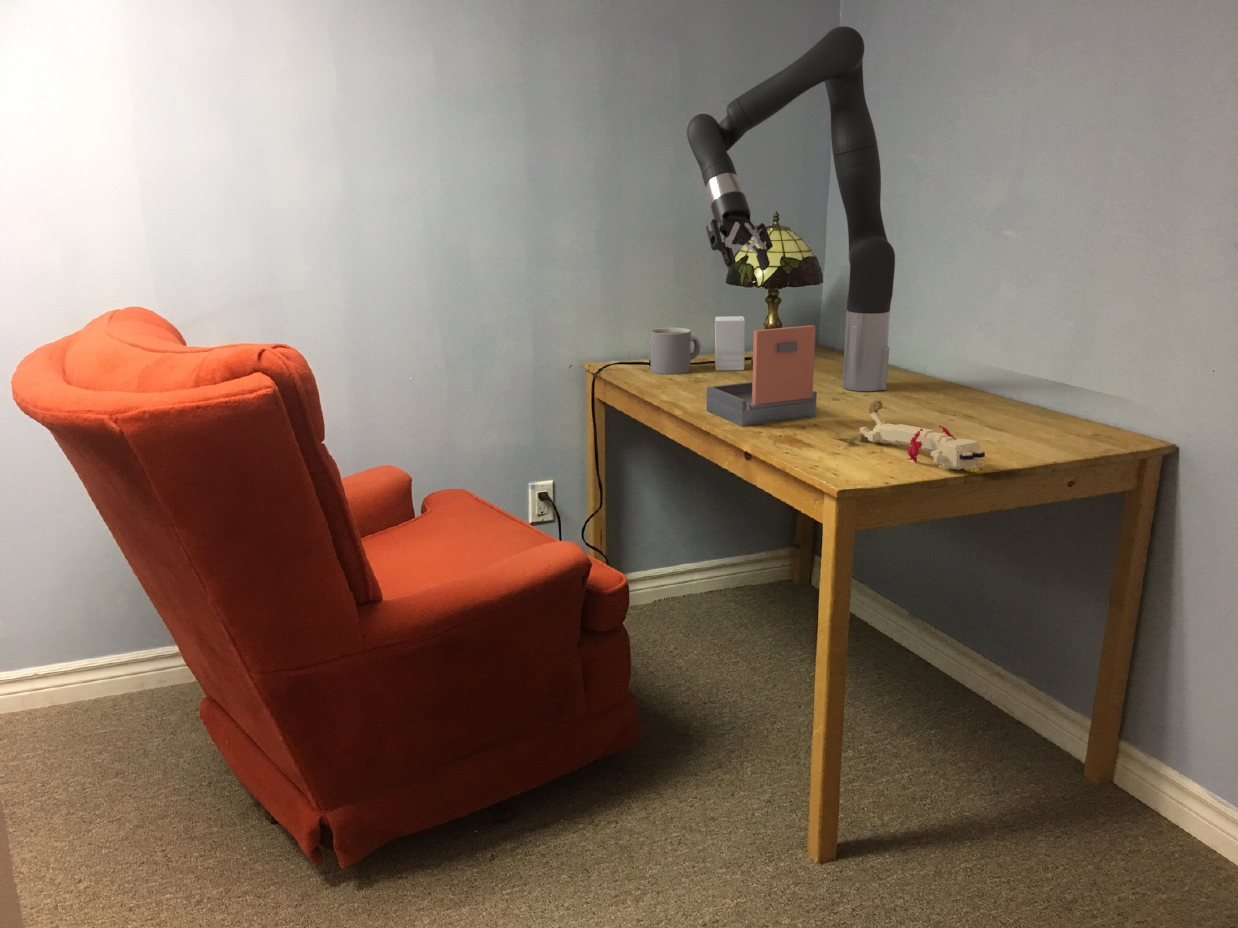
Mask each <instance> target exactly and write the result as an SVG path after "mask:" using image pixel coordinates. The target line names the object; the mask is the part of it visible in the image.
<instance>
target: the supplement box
mask: <svg viewBox="0 0 1238 928" xmlns="http://www.w3.org/2000/svg"><path fill="white" fill-rule="evenodd" d="M745 338H746V319H745V317H744V315H738V316H736V315H735V316H734V315H733V316H730V315H729V316H715V320H714V368H715V371H745V349H746V346H745V345H746V344H745V343H746V339H745Z"/></svg>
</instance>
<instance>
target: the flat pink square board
mask: <svg viewBox="0 0 1238 928" xmlns="http://www.w3.org/2000/svg"><path fill="white" fill-rule="evenodd" d="M816 331H817V330H816V325H813V324H812V325H801V326H791V327H790V326H789V327H778V328H767V329H755V330H753V347H752V349H753V350H752V381H751V382H752V404H750V410H756V409H764V408H772V407H780V406H788V405H795V404H803V403H811V402H814V397H813V396H812V395H813V391H814V370H815V369H814V368H815V350H816V349H815V347H816Z"/></svg>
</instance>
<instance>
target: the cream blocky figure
mask: <svg viewBox="0 0 1238 928" xmlns="http://www.w3.org/2000/svg"><path fill="white" fill-rule="evenodd" d="M882 408H883V402H882V400H879V399H877V400H873V401H872V403H871V404H870V405H869V408H868V413H869V415H870V416H871V418H872V420H874V422H875V426H874V428H873V429H872V430H870V429H868V427H866V426H862V427H859V434H857V435H856V436H857V438H856V439H857V441H859V442H861V443H867V442H868V441H869V442H872V443H881V444H883V445H884V444H893V445H897V446H898V445H906V446H908V449H907V455H908V457H909V459H910V460H912V461H913V462H914V463H919V462H920V461H918V456H919V448H920V449H921V450H922V451H924V452H925V451H926V452H929V453H930V457H933V462H934V463H936V464H940V465H938V468H943V469H950V470H952V469H954V470H962V469H963V470H964V471H967V472H971V473H972V472H973V473H974V472H976V473H977V472H979V471H980V468H982V466H983V467H984V466H986V463H983V462H981V461H980V459H981V458H985V457H986V452H985V451H984V450H983V449H981V445H980V444H979V442H978V441H977V440H973V439H972V440H971V439H968V438H955V437H954V435H952V434H951V432H950V431H949V429H948V428H947V427H945V426H942V425H938V428H939V429H942V433H941V432H935V431H934V429H929V428H924V427H918V426H913V425H909V424H908V425H907V424H902V423H898V424H894V423H893V424H892V423H886V422H885V421H884V419H883V417H882V415H881V414H880V413H879V410H882Z"/></svg>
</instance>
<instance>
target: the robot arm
mask: <svg viewBox="0 0 1238 928" xmlns="http://www.w3.org/2000/svg"><path fill="white" fill-rule="evenodd" d="M864 55H865V42H864V38H863V36H862V35H861V33H860V32H858V31H857V30H856V29H855V28H854V27H851V26H846V25H845V26H844V25H842V26H837V27H834V28H832V29H830V30H829V31H828V32H827V33H826V34H824V36H823V37H822V38H821V39H820V40H819V41H818V42H817V43H815V44H814V45H813V46H812V47H811V48H810V49H809V50H807V51H806V52H804V54H803V55H801V56H800V57H799V58H797V59H796V60H794V61H793V62H792V63H790V64H789V65H787V67H784V68H783V69H782V70H780V71H779V72H777V73H775V74H773V75H772V76H770V77H768V78H767V79H765V80H763V81H762V82H759V83H758V84H757V85H755V86H753V87H752V88H750V89H748V90H747V91H745V92H744V93H742V94H741V95H739V96H737V97H736V98H734V99H733V100H731V101H730V102H729V103H728V104H727V106H726V116H725V117H724V118H723V119H722V120H721V121H720V122H719V121H718V120H717V119H716V118H715V117H714V116H712V115H710V114H708V113H699V114H696V115H695V116H693V117H692V118H691V119H690V121H689V122H688V125H687V128H686V137H687V141H688V144H689V147H690V149H691V151H692V153H693V156H694V158H695V160H696V163H697V164H698V167H699V170H700V173H701V178H702V180H703V183H704V186H705V191H706V196H707V199H708V203H709V206H710V210H711V213H712V216H713V218H712V219H711V221H709V223H708V224H707V225H706V226H705V228H706V232H707V233H706V234H707V237H708V241H709V245H710V249H711V250H712V251H718V252H719V254H721V255H722V260H723V262H724V264H725V266H726V268H727V269H728V270H729V269H733V268H734V267H735V266H736V264H737V261H736V257H735V255H734V252H733V249H732V247H731V245H739V246H745V247H746V248H747V249H748V250H751V251H752V252H753V253H754V254H755V255H756V256H755V257H756V260H757V263H758V267H759V269H760V271H766V270H767V269H768V268H769V267H770V265H771V262H770V258H769V257H768V252H769V251H770V250H771V249H772V248H773V247H774V245H773V243H772V240H771V237H770V234H769V233H768V230H767V227H766V224H764V222H763V223H762V222H761V223H760V224H759V225H754V224H753V222H752V221H751V210H750V206H749V203H748V201H747V198H746V193H745V191H744V188H743V186H742V183H741V182H740V179H739V177H738V174H737V171H736V168H735V166H734V163H733V160H732V158H731V156H730V155H729V154H728V151H729V150H730V149H731V148H732V147H733V146H734V145H735V144H736V143H737V142H738V141H740V139H741V138H742V137H743V136H744V135H745V134H746V133H747V132H748V131H750V130H752V129H753V128H755V127H757V126H758V125H760V124H761V123H763V122H765V121H766V120H768V119H769V118H771V117H772V116H774V115H776V114H777V113H778V112H779V111H781V110H782V109H783V108H785V107H786V106H787V105H789V104H790V103H792V101H794V100H795V99H797V98H799V97H800V96H801V95H803V94H804V93H806V92H807V91H808V90H810V89H812V88H814V87H816V86H817V85H820V84H821V83H824V85H825V89H826V93H827V96H828V97H827V98H828V102H829V112H830V135H831V137H830V138H831V148H832V157H833V164H834V171H835V176H836V180H837V184H838V189H839V193H840V198H841V200H842V204H843V207H844V211H845V215H846V221H847V222H846V223H847V235H848V237H847V238H848V262H849V267H850V268H849V278H848V279H849V281H848V283H849V284H848V294H847V298H846V299H847V300H846V316H845V334H844V335H845V336H844V351H843V370H842V372H843V373H842V387H843V388H844V389H846V390H850V391H859V392H876V391H887V386H888V375H889V374H888V373H889V372H888V371H889V358H890V347H889V346H888V344H889V329H890V317H891V316H890V315H891V304H892V299H893V294H894V293H893V292H894V281H895V280H894V279H895V268H896V253H895V250H894V247H893V246H892V244H891V243H890V242H889V240H888V237H887V234H886V230H885V225H884V221H883V216H882V209H881V194H882V193H881V191H882V175H881V172H882V170H881V160H880V154H879V147H878V141H877V140H878V139H877V135H876V132H875V127H874V124H873V120H872V117H871V114H870V111H869V107H868V103H867V100H866V95H865V94H866V93H865V87H864V85H865V84H864V83H865V82H864V71H863V70H864V67H863V66H864V65H863V62H864V61H863V58H864ZM721 234H722V235H721ZM722 236H723V238H722ZM751 239H753V241H751ZM750 241H751V242H750ZM756 245H757V246H756Z"/></svg>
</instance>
